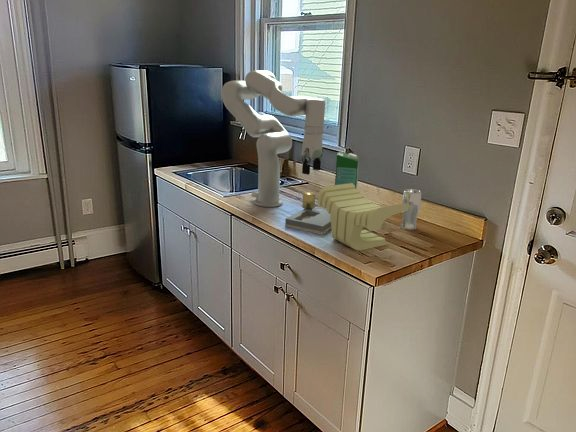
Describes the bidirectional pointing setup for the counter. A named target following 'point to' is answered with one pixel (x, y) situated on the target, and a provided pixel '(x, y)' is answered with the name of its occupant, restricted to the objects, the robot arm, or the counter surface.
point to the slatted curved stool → (355, 215)
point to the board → (309, 221)
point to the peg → (308, 200)
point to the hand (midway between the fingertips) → (311, 171)
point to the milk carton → (347, 169)
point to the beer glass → (411, 208)
